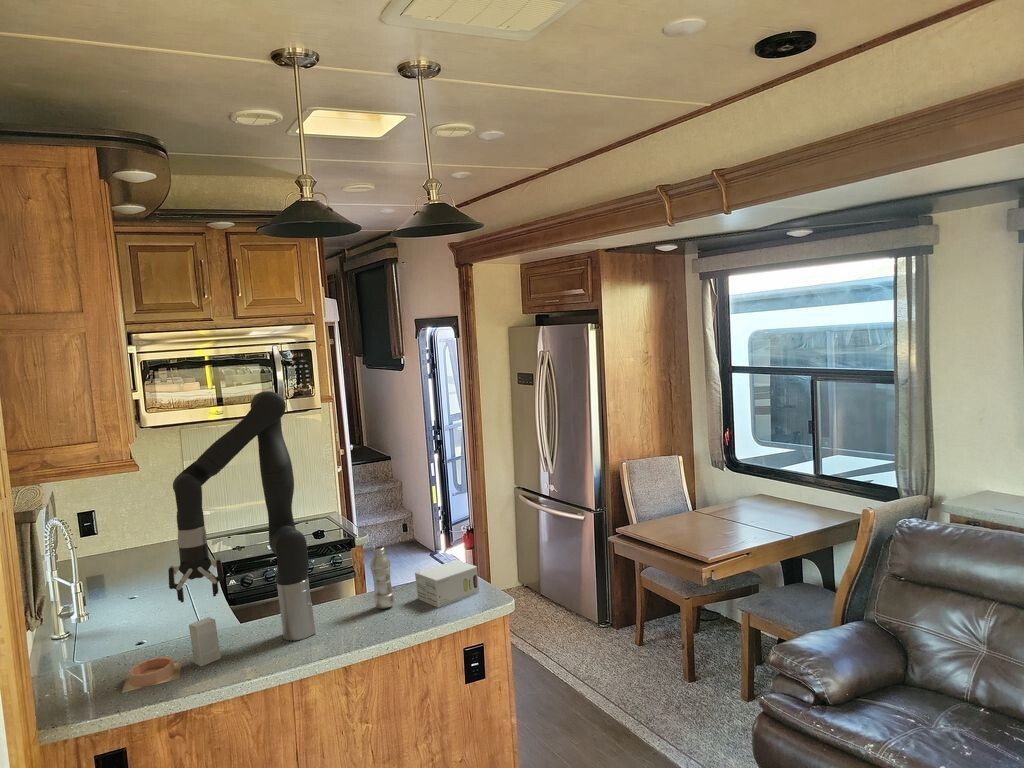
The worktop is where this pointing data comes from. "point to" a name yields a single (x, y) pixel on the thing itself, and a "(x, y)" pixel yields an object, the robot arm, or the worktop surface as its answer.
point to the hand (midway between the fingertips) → (198, 598)
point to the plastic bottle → (381, 579)
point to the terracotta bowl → (151, 671)
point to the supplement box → (447, 583)
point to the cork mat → (173, 677)
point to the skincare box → (204, 641)
